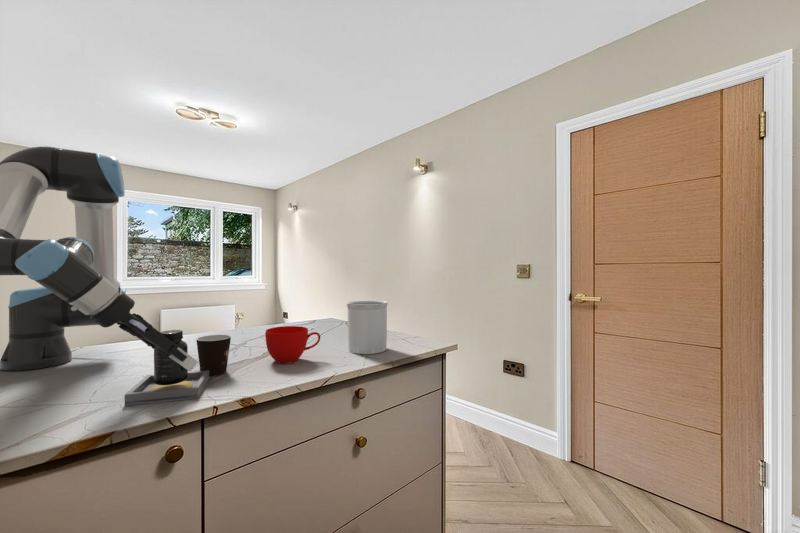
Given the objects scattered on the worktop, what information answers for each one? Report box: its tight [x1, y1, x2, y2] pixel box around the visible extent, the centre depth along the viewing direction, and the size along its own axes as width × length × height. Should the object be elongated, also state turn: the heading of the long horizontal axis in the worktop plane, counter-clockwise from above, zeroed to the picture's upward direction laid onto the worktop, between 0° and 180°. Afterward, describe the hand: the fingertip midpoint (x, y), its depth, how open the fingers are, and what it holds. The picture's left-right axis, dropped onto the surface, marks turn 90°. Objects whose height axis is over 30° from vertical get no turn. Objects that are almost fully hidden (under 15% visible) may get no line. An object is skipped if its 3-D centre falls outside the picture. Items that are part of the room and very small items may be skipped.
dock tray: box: [124, 370, 210, 407], centre depth 85 cm, size 14×14×2 cm
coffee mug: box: [195, 334, 232, 378], centre depth 101 cm, size 12×9×10 cm
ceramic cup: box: [265, 325, 321, 364], centre depth 114 cm, size 13×17×10 cm
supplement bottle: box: [153, 329, 189, 385], centre depth 85 cm, size 7×7×12 cm
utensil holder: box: [346, 299, 389, 355], centre depth 129 cm, size 15×15×18 cm
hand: (187, 363), depth 88 cm, fingers closed on supplement bottle, 7 cm apart
